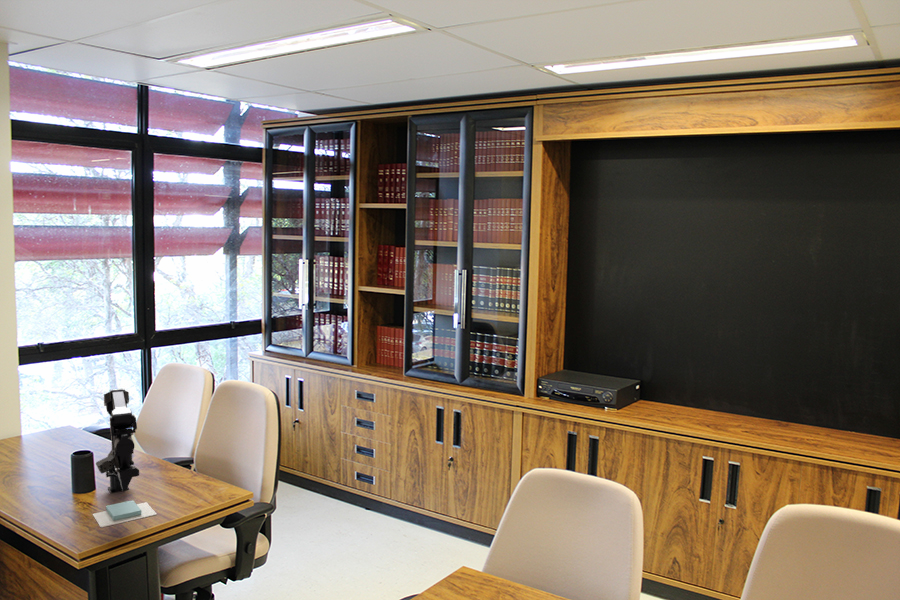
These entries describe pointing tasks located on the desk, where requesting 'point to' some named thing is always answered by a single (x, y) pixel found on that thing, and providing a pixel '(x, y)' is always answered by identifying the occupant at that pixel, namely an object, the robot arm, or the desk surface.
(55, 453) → the desk surface
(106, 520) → the mat
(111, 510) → the tile
